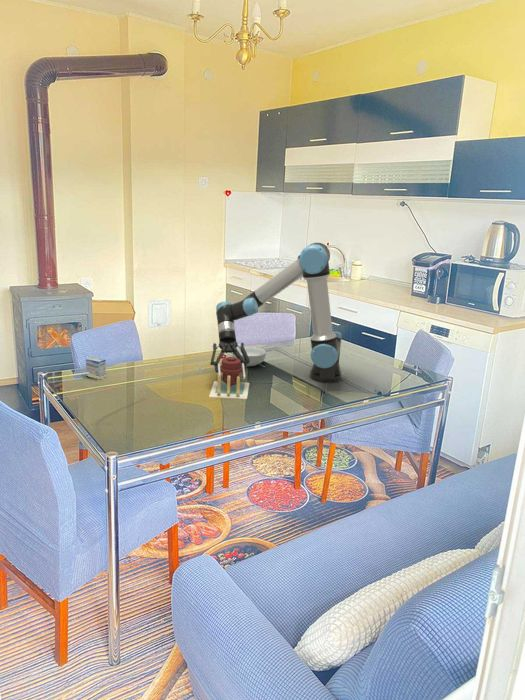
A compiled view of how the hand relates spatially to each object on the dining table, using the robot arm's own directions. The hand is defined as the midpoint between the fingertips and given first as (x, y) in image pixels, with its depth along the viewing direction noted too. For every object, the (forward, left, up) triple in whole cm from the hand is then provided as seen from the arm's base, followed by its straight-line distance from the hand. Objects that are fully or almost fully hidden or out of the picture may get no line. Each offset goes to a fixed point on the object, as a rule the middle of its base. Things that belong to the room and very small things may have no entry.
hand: (231, 378), depth 221 cm
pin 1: (+5, +7, -5) cm, 10 cm away
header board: (+1, -1, -7) cm, 7 cm away
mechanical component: (+1, -3, -4) cm, 5 cm away
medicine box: (+63, -10, -7) cm, 64 cm away
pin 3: (-3, +7, -5) cm, 9 cm away
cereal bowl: (-5, -40, -7) cm, 41 cm away
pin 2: (+1, +7, -5) cm, 9 cm away
